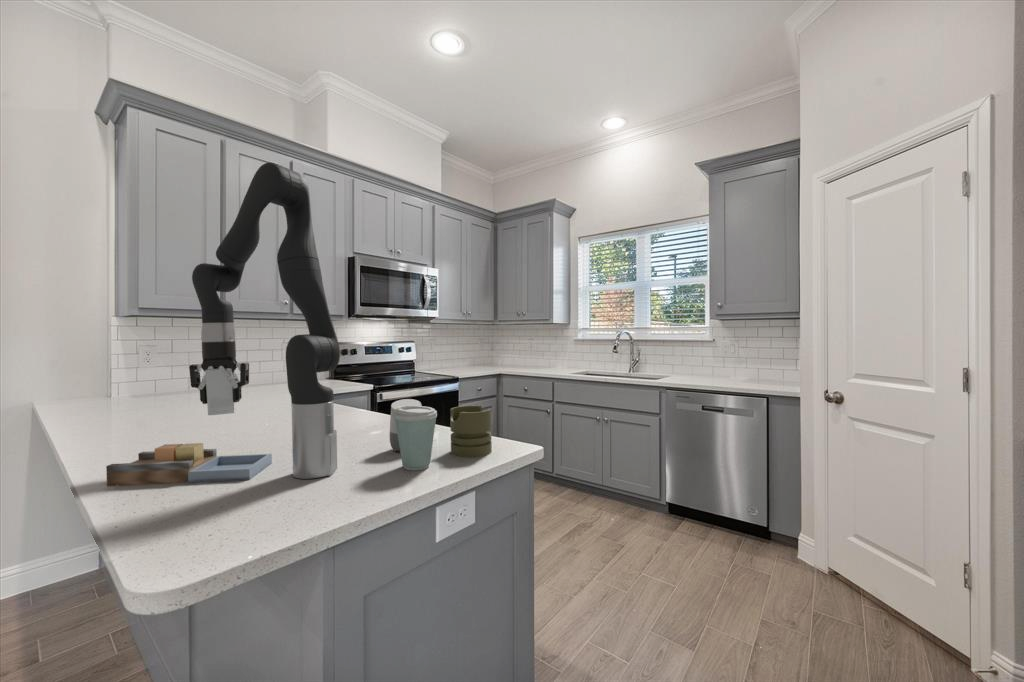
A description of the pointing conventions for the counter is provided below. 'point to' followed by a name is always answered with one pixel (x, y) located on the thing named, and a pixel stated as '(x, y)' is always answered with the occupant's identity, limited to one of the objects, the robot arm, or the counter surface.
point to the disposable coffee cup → (415, 435)
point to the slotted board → (153, 470)
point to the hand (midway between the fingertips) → (221, 402)
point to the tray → (230, 468)
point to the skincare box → (219, 392)
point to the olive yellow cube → (190, 452)
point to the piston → (470, 431)
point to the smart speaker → (393, 429)
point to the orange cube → (166, 453)
